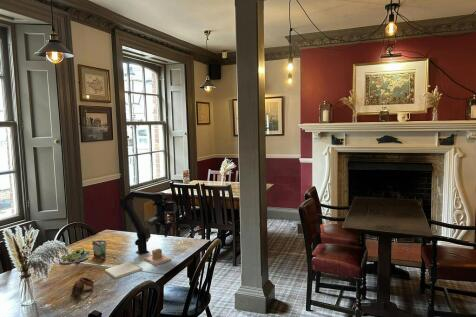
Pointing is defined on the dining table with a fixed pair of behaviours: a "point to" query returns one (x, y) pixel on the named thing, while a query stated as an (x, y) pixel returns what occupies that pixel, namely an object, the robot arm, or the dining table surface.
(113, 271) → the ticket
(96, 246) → the food container
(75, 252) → the salad plate
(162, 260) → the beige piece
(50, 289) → the dining table surface
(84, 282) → the pottery mug
